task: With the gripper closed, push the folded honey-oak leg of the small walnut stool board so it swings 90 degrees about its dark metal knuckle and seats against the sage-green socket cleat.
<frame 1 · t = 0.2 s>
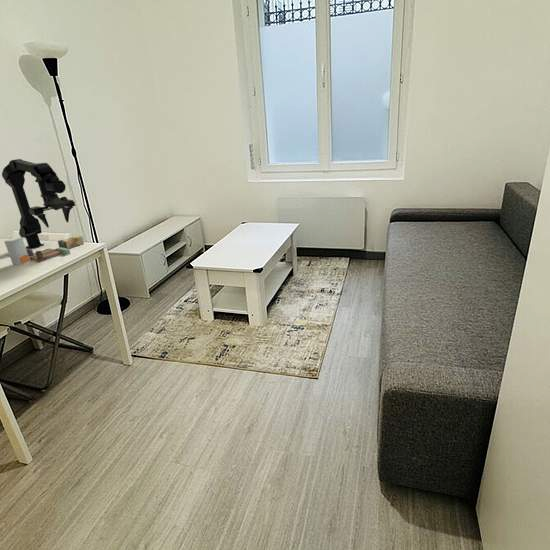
hand: (57, 224, 183), 14 cm above the table, fingers open, 9 cm apart
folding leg: (70, 242, 195), point 2 cm above the table, hinge at 90.0°
socket cleat: (64, 253, 187), on the table
stool seat: (44, 256, 185), on the table
skincare box: (22, 264, 179), on the table
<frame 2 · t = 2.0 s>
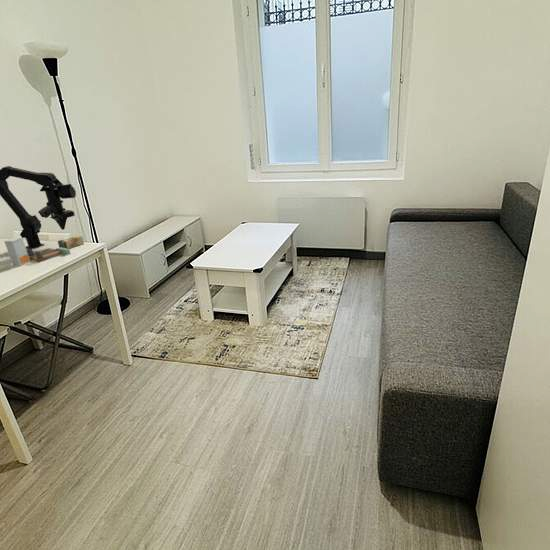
hand: (63, 229, 199), 8 cm above the table, fingers closed
nothing on the table moved.
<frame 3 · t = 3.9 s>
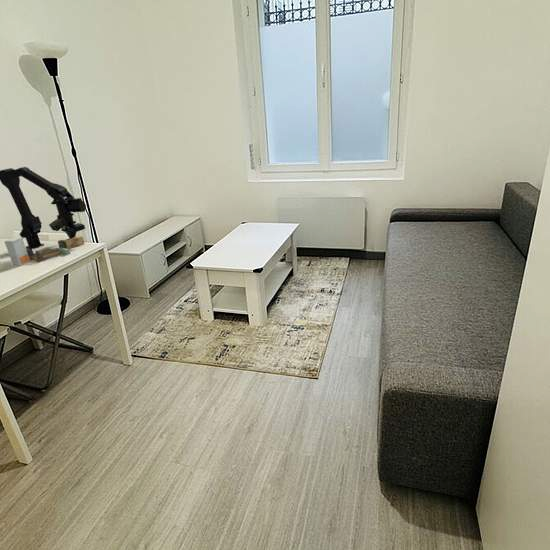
hand: (73, 241, 199), 2 cm above the table, fingers closed
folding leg: (70, 242, 195), point 2 cm above the table, hinge at 87.0°, touching gripper
everything else where it was.
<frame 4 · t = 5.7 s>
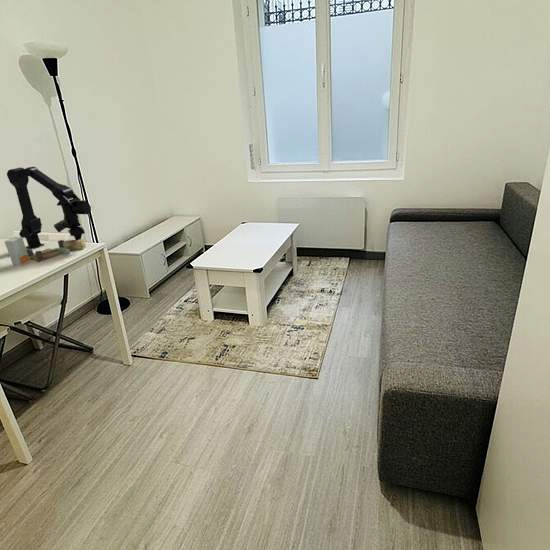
hand: (79, 243, 196), 1 cm above the table, fingers closed
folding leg: (71, 244, 192), point 2 cm above the table, hinge at 36.5°, touching gripper
everything else where it was.
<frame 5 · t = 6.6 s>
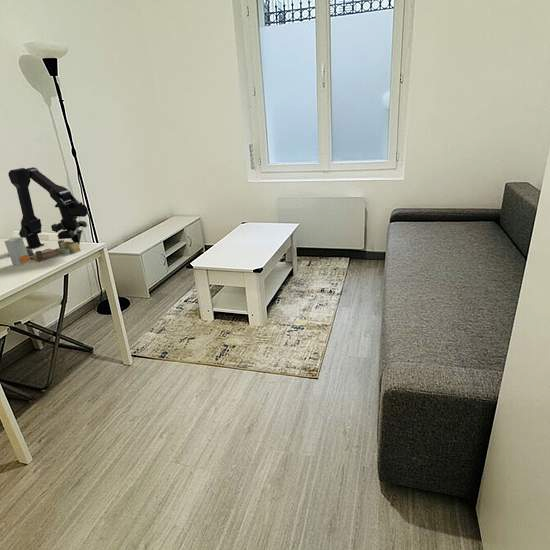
hand: (77, 246, 192), 1 cm above the table, fingers closed
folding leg: (68, 246, 190), point 2 cm above the table, hinge at 5.3°, touching gripper
everything else where it was.
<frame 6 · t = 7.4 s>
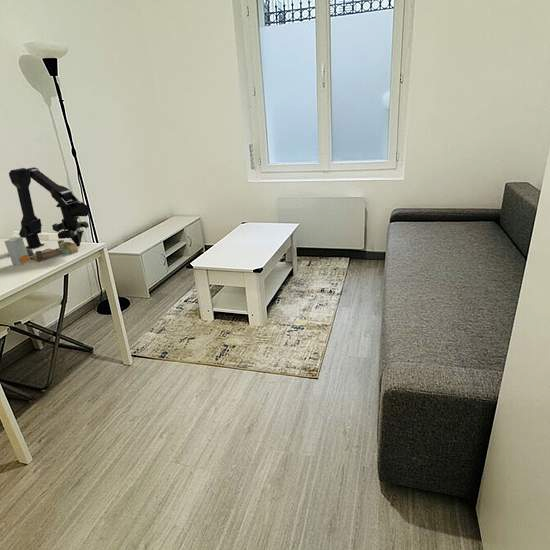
hand: (78, 246, 192), 1 cm above the table, fingers closed
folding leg: (66, 246, 189), point 2 cm above the table, hinge at -2.3°
everything else where it was.
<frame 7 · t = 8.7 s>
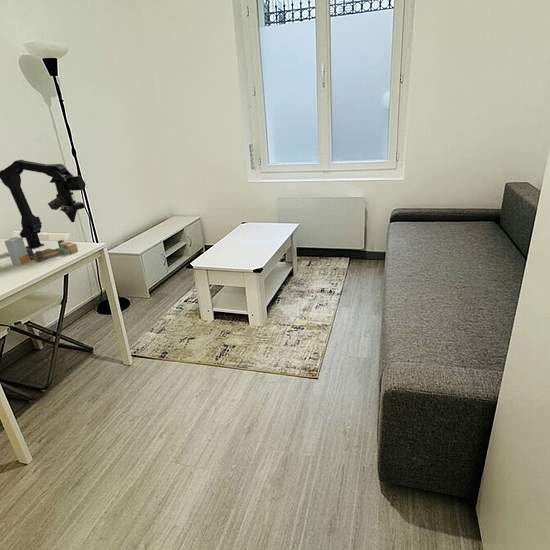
hand: (72, 222, 194), 12 cm above the table, fingers closed
nothing on the table moved.
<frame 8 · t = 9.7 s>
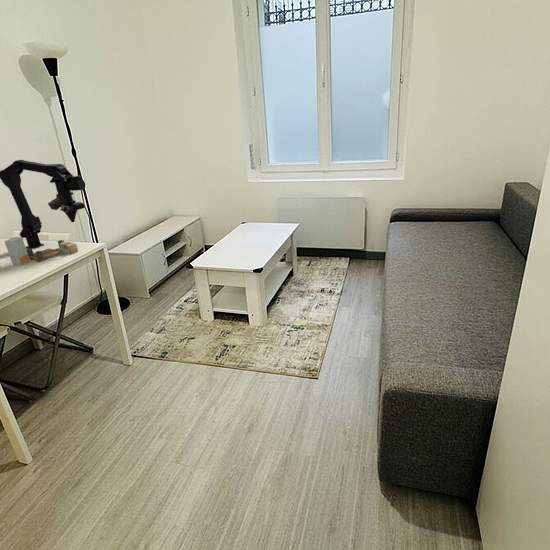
hand: (72, 222, 194), 12 cm above the table, fingers closed
nothing on the table moved.
at the end: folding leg at -2° (first picture: +90°) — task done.
